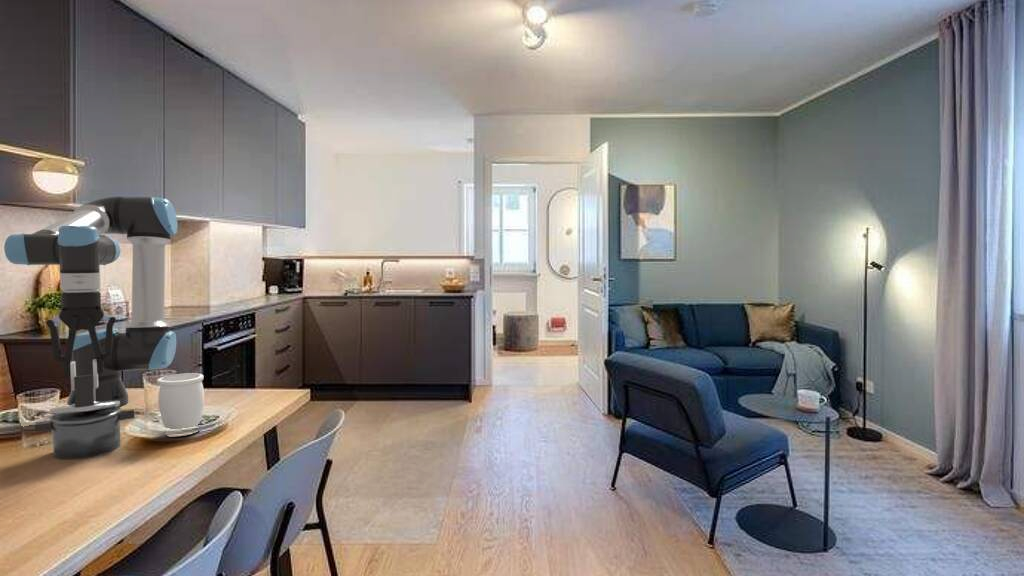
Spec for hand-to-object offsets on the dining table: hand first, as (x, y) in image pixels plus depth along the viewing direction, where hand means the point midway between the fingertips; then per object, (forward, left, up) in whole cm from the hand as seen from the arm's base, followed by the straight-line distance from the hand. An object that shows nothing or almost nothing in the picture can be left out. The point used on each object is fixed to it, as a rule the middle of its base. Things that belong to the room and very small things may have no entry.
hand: (85, 388), depth 135 cm
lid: (0, 0, -5) cm, 5 cm away
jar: (-2, +20, -15) cm, 25 cm away
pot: (0, 0, -15) cm, 15 cm away
